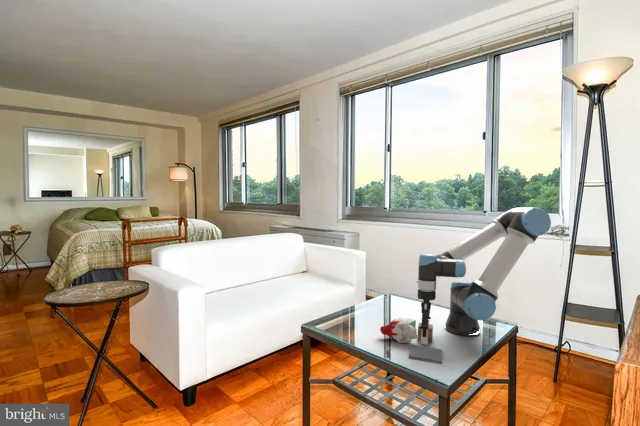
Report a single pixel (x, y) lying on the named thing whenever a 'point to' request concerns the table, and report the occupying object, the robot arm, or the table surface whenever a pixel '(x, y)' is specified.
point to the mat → (425, 353)
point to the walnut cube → (430, 332)
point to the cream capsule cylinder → (404, 319)
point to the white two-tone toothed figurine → (400, 331)
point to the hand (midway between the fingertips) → (424, 338)
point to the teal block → (412, 322)
